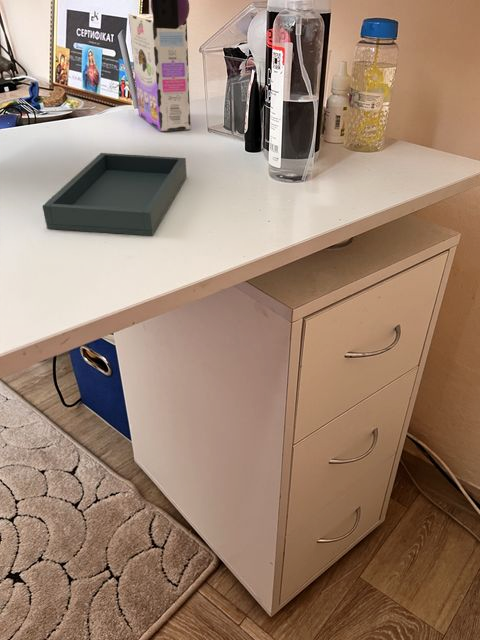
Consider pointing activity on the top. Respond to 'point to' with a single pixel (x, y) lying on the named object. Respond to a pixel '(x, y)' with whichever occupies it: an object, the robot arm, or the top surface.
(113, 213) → the tray
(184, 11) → the grape
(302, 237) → the top surface
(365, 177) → the top surface
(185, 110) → the candy box
